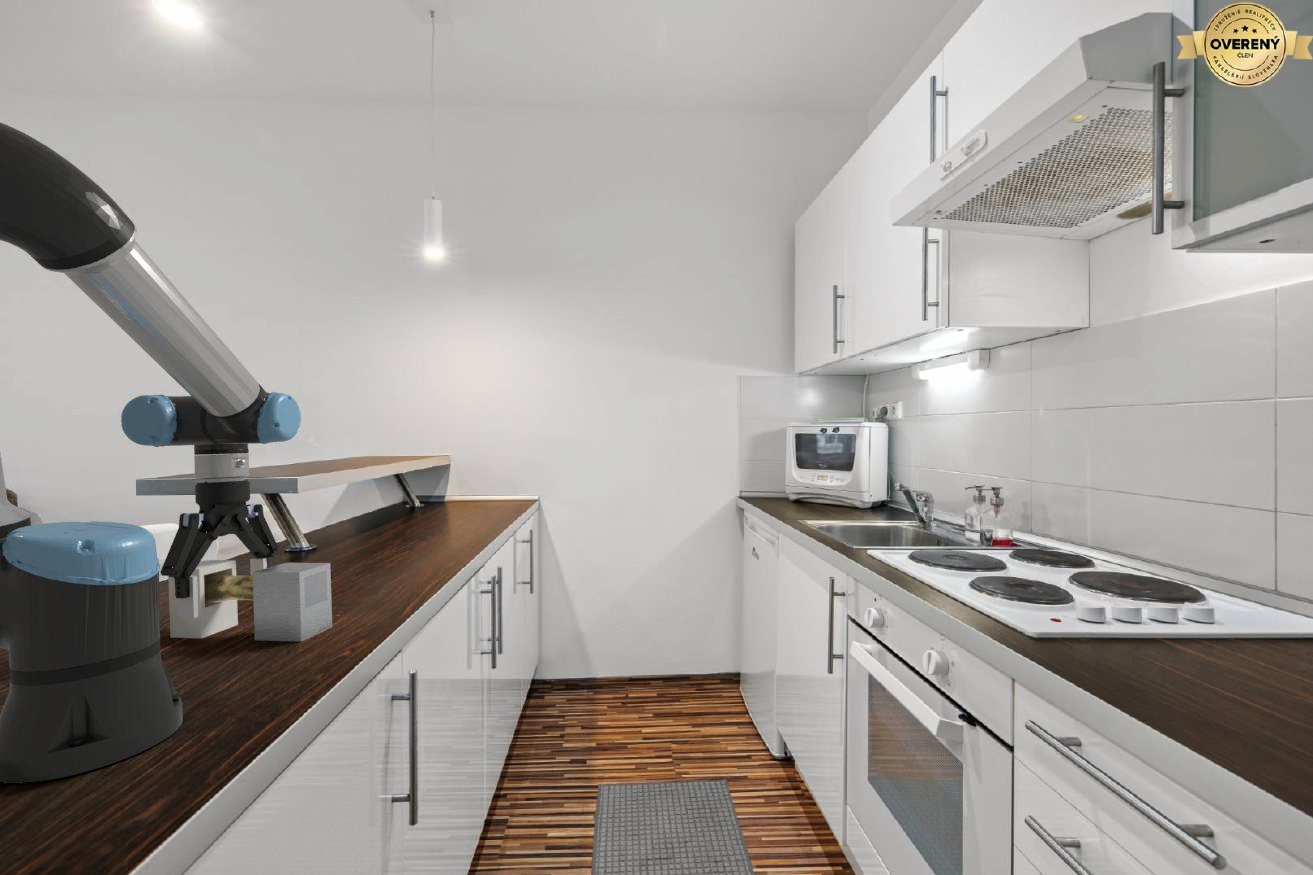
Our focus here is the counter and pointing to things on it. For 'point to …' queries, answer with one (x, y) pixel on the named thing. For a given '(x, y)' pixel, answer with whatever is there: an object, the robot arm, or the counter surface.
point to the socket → (204, 605)
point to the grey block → (292, 601)
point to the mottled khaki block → (228, 587)
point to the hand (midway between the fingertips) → (226, 605)
